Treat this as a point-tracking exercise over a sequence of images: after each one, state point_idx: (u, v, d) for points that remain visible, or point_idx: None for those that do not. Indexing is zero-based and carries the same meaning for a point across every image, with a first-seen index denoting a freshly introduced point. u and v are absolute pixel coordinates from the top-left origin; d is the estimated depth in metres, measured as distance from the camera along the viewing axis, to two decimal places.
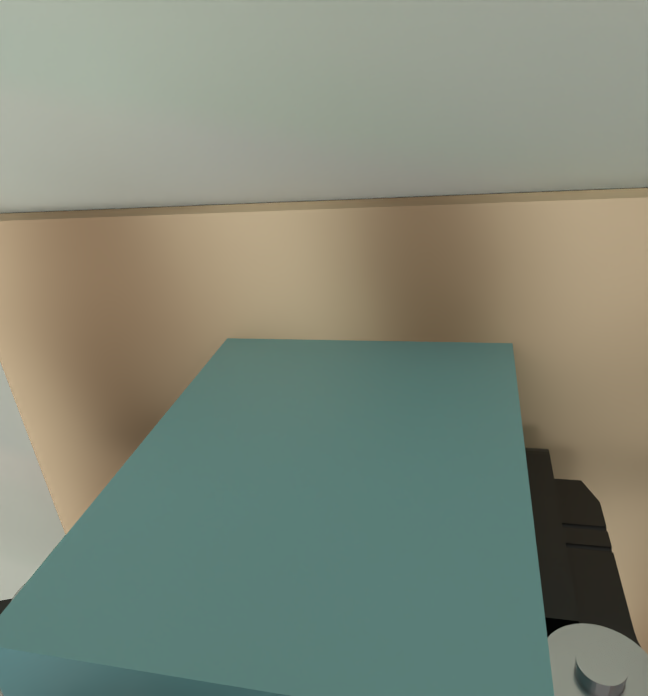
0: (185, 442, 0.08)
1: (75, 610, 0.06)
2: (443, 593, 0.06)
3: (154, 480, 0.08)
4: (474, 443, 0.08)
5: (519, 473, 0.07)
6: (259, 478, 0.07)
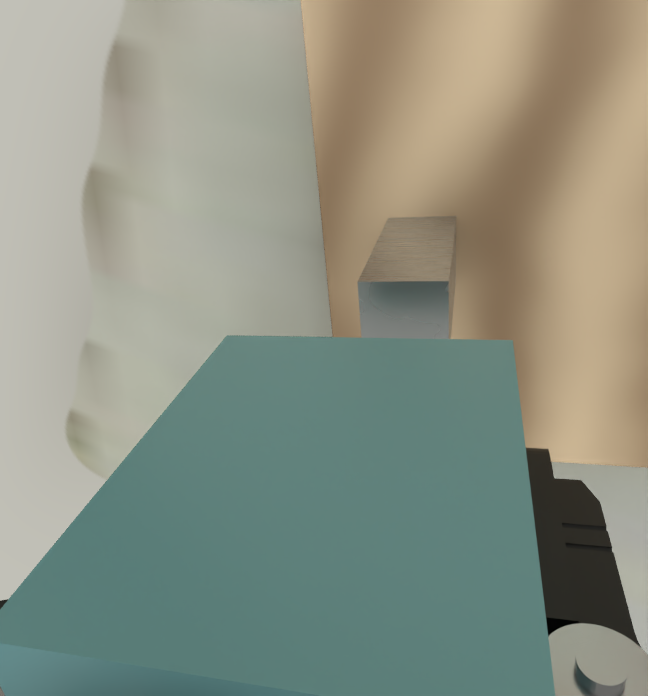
0: (186, 439, 0.08)
1: (74, 605, 0.06)
2: (443, 588, 0.06)
3: (153, 477, 0.08)
4: (474, 439, 0.08)
5: (519, 469, 0.07)
6: (259, 474, 0.07)
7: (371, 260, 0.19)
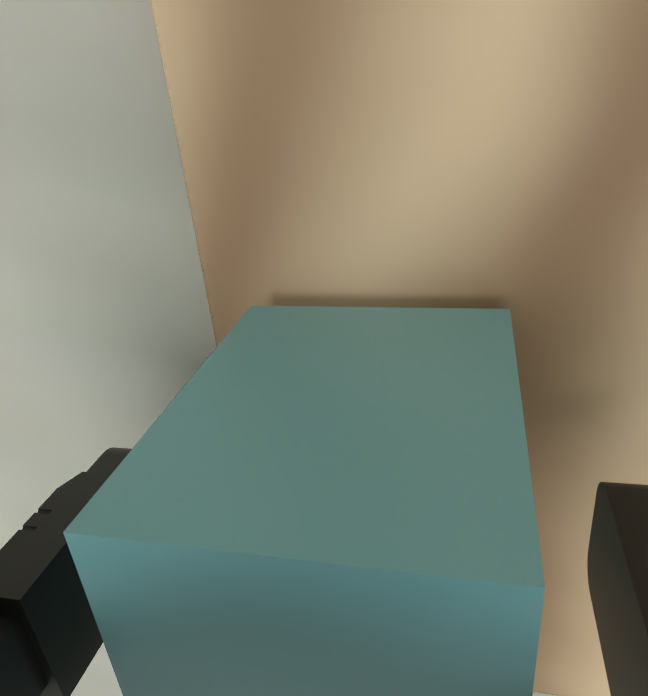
0: (222, 388, 0.10)
1: (143, 508, 0.07)
2: (450, 494, 0.07)
3: (198, 416, 0.09)
4: (476, 386, 0.09)
5: (515, 408, 0.08)
6: (290, 413, 0.09)
7: None
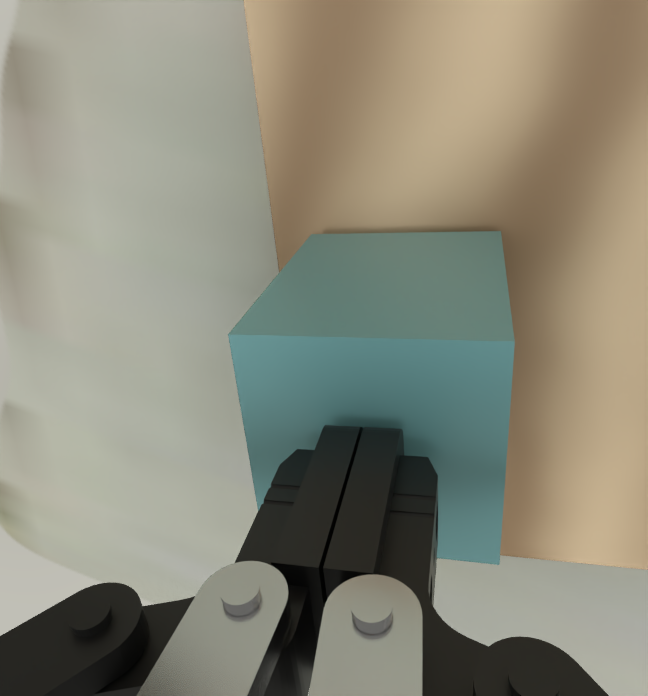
0: (303, 275, 0.14)
1: (273, 324, 0.12)
2: (461, 312, 0.11)
3: (293, 287, 0.13)
4: (477, 268, 0.13)
5: (502, 277, 0.13)
6: (354, 284, 0.13)
7: None
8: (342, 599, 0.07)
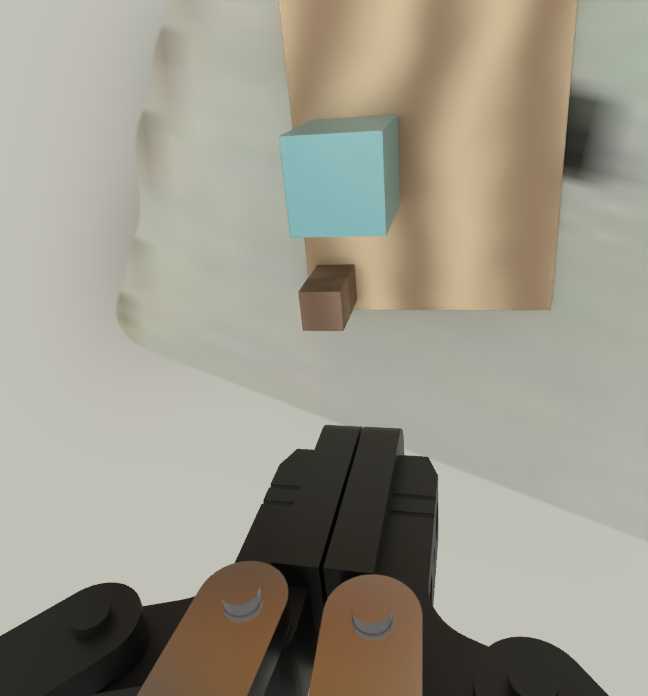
0: (307, 128, 0.33)
1: (296, 134, 0.30)
2: (367, 128, 0.30)
3: (303, 129, 0.32)
4: (380, 121, 0.32)
5: (388, 122, 0.31)
6: (328, 127, 0.32)
7: None
8: (342, 599, 0.07)
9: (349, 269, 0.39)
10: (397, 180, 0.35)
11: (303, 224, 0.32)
